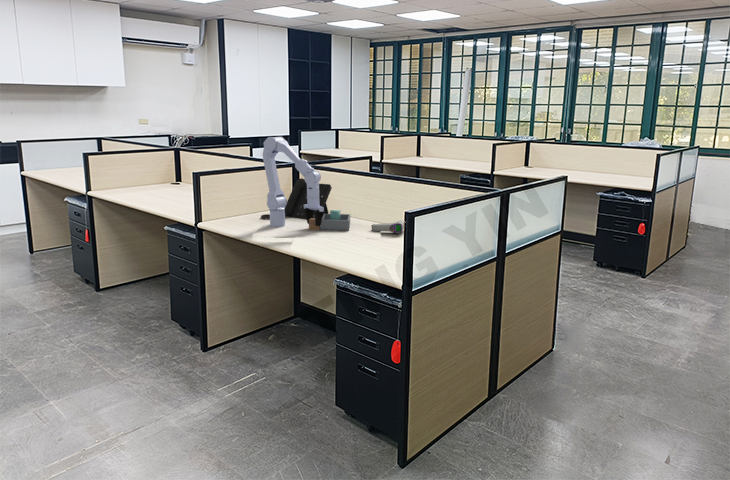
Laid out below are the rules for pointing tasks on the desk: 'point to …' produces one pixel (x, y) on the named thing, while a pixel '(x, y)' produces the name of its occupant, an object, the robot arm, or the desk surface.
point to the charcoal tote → (336, 223)
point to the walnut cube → (313, 224)
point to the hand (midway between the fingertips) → (314, 224)
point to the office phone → (303, 200)
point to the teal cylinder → (334, 214)
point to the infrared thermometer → (389, 227)
